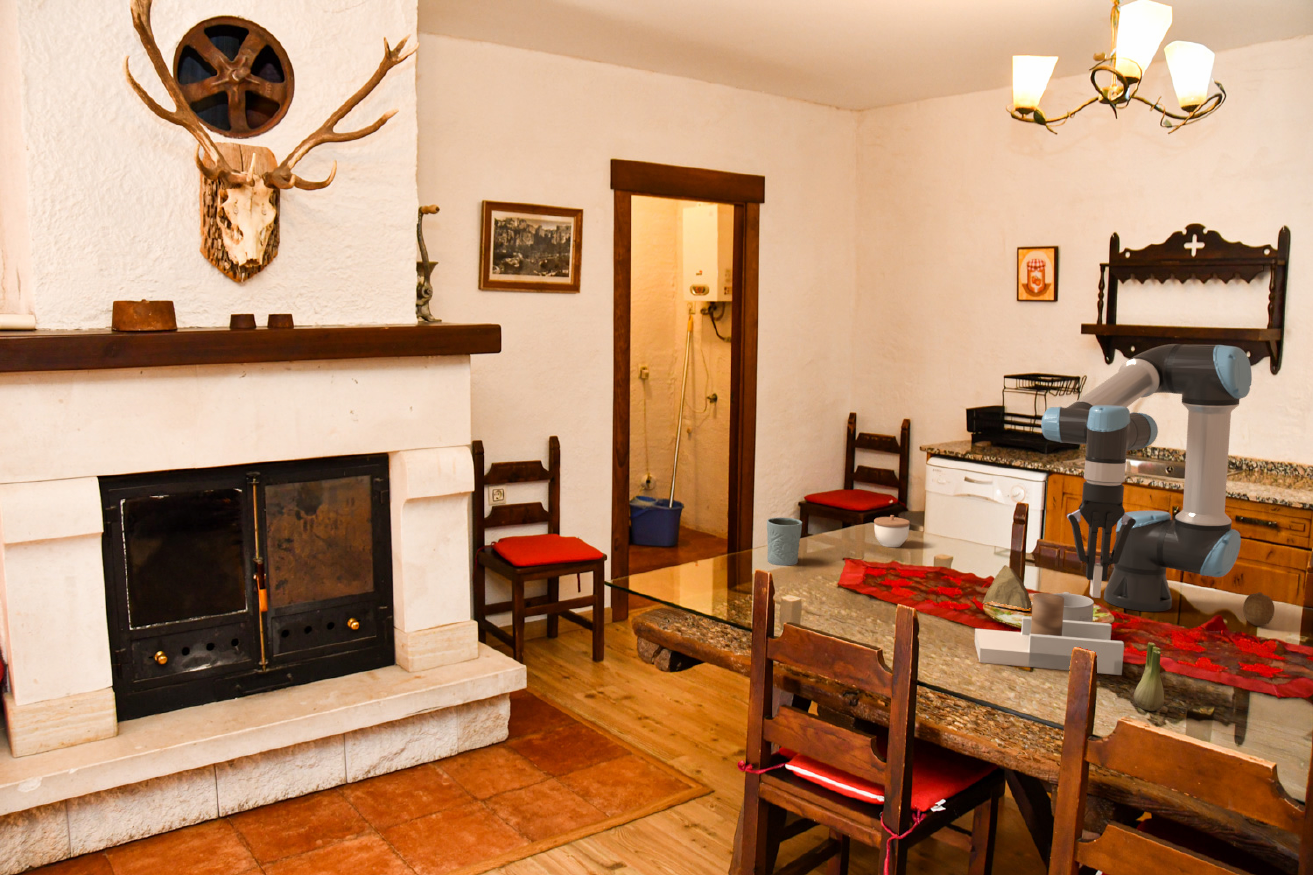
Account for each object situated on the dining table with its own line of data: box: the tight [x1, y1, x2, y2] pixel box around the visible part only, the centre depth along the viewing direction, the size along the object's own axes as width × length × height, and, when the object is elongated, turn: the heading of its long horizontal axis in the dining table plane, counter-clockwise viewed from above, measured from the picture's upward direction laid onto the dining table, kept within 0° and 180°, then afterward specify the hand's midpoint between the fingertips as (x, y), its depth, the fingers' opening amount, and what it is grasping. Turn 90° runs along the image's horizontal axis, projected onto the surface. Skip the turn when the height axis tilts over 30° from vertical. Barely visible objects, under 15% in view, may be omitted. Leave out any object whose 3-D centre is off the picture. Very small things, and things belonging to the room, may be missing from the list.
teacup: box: [1053, 591, 1095, 622], centre depth 220 cm, size 14×11×8 cm
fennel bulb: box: [1133, 642, 1165, 712], centre depth 177 cm, size 6×5×12 cm
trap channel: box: [974, 616, 1125, 676], centre depth 202 cm, size 27×13×6 cm, turn 76°
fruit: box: [1242, 592, 1275, 627], centre depth 225 cm, size 6×6×8 cm
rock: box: [982, 565, 1032, 609], centre depth 237 cm, size 11×9×10 cm
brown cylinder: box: [1031, 592, 1064, 636], centre depth 202 cm, size 6×6×10 cm
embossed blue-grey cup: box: [766, 516, 803, 567], centre depth 278 cm, size 10×10×12 cm
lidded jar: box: [873, 514, 911, 548], centre depth 300 cm, size 11×11×9 cm
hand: (1094, 595), depth 199 cm, fingers closed
